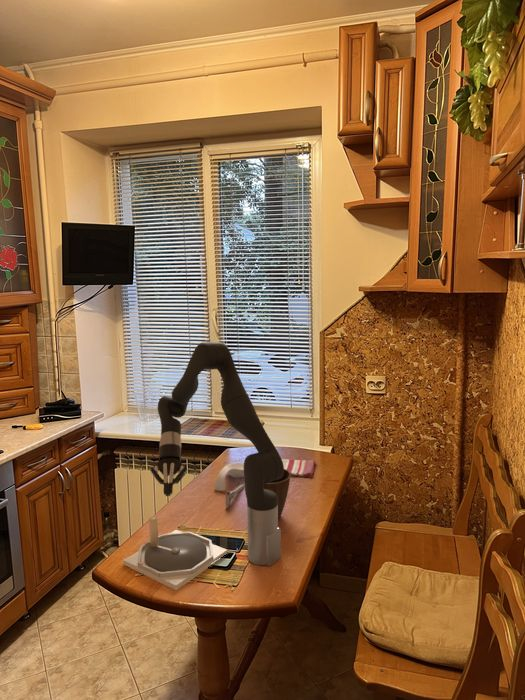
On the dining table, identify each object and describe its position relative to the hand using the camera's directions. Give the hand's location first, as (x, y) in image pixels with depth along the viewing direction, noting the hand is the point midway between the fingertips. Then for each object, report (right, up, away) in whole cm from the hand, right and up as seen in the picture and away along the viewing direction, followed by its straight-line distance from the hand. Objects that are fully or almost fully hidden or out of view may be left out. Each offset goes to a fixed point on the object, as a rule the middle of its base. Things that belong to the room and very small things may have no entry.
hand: (167, 495), depth 172 cm
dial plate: (+5, -15, -15) cm, 22 cm away
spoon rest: (+19, -6, +43) cm, 48 cm away
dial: (+5, -14, -15) cm, 21 cm away
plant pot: (+34, -11, +11) cm, 37 cm away
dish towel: (+42, -4, +55) cm, 69 cm away
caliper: (+21, -9, +27) cm, 36 cm away
